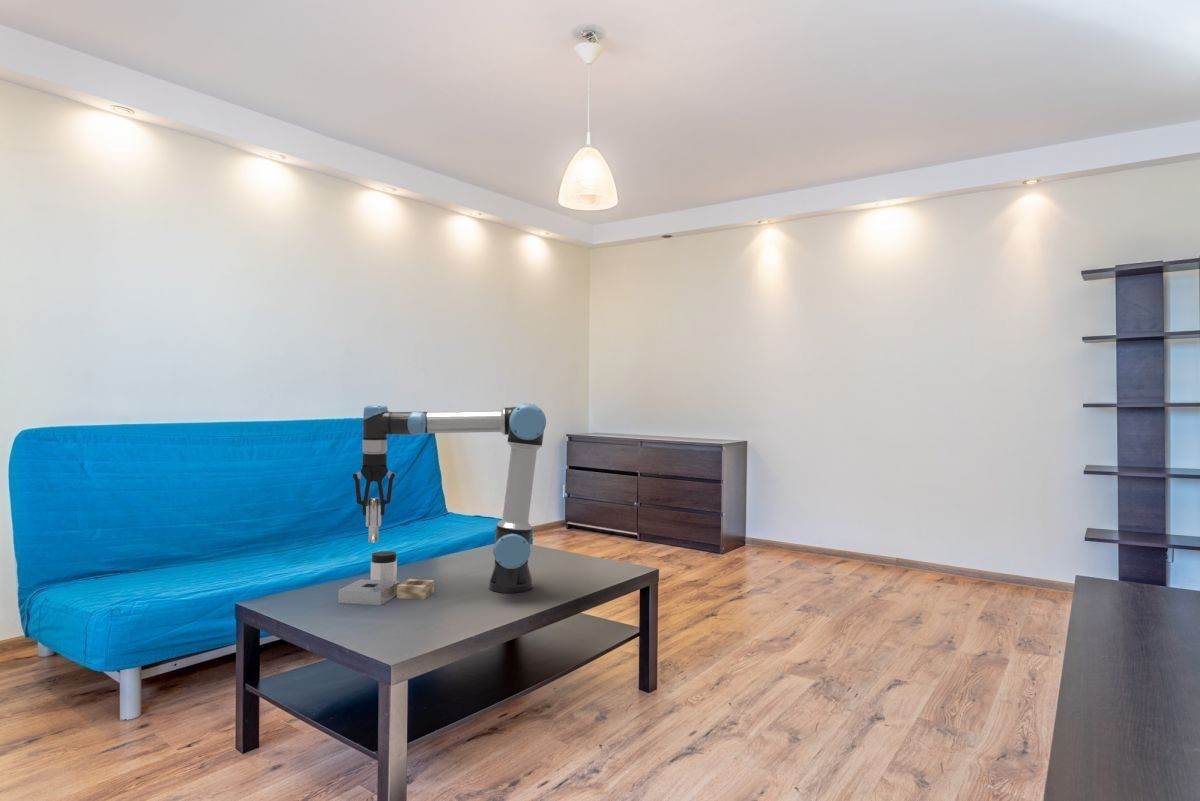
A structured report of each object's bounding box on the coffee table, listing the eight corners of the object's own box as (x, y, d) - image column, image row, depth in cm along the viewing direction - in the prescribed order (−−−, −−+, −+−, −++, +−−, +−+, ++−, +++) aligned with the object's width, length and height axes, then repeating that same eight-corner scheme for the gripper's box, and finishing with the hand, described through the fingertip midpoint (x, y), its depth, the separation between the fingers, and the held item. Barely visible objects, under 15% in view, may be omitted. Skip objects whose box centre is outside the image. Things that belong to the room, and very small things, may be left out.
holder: (434, 595, 225) (434, 580, 225) (423, 602, 216) (423, 587, 216) (408, 593, 226) (408, 578, 226) (396, 601, 217) (397, 585, 218)
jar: (373, 592, 227) (374, 556, 228) (367, 587, 234) (367, 552, 235) (399, 589, 232) (400, 554, 233) (393, 583, 239) (393, 550, 239)
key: (376, 543, 215) (377, 499, 215) (367, 544, 214) (367, 499, 214) (379, 539, 221) (380, 497, 222) (369, 540, 221) (370, 497, 221)
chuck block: (399, 596, 223) (400, 581, 223) (380, 608, 209) (380, 592, 209) (359, 594, 225) (360, 579, 225) (338, 606, 211) (338, 590, 211)
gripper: (401, 452, 224) (400, 523, 223) (350, 452, 220) (349, 524, 220) (399, 453, 216) (398, 526, 216) (346, 453, 213) (345, 528, 212)
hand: (373, 525), depth 218 cm, fingers closed on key, 3 cm apart
